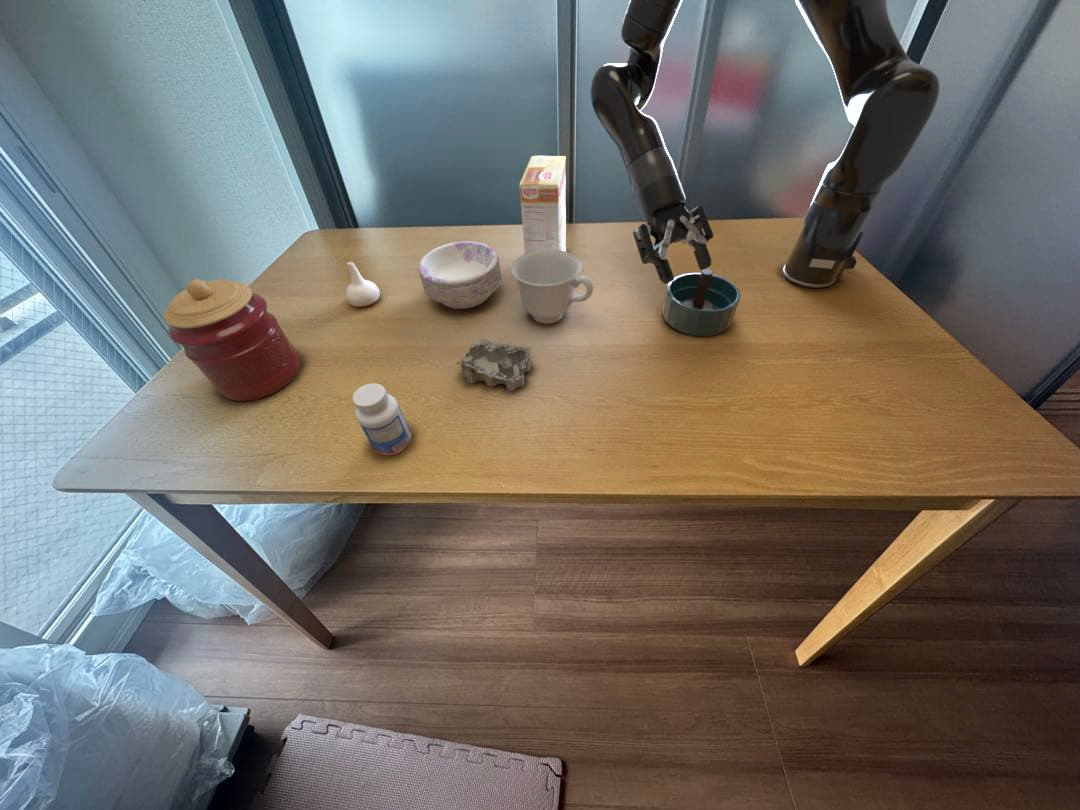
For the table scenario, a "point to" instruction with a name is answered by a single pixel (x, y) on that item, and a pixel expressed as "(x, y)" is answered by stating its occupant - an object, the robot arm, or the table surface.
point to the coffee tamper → (701, 292)
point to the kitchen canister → (232, 338)
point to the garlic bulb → (360, 289)
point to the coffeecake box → (544, 203)
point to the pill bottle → (381, 419)
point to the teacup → (549, 283)
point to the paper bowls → (460, 273)
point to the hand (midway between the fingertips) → (688, 275)
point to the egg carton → (496, 364)
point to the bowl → (700, 320)
